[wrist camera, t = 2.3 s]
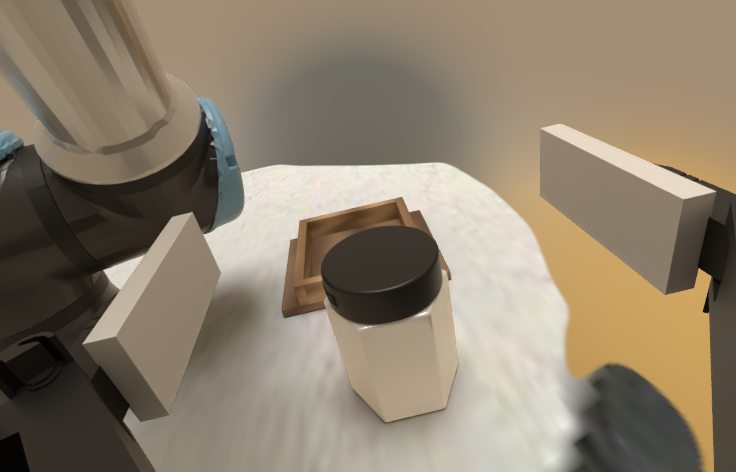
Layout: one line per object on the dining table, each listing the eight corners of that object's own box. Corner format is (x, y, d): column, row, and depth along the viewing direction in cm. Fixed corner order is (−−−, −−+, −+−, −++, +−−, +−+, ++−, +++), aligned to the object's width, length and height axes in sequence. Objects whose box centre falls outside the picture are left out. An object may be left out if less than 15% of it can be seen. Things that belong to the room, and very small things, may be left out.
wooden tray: (284, 317, 43) (274, 291, 41) (292, 246, 56) (285, 224, 54) (451, 279, 43) (447, 251, 41) (420, 216, 56) (416, 193, 54)
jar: (379, 330, 38) (351, 220, 33) (466, 343, 35) (452, 222, 29) (337, 411, 32) (292, 290, 26) (440, 437, 28) (415, 304, 22)
